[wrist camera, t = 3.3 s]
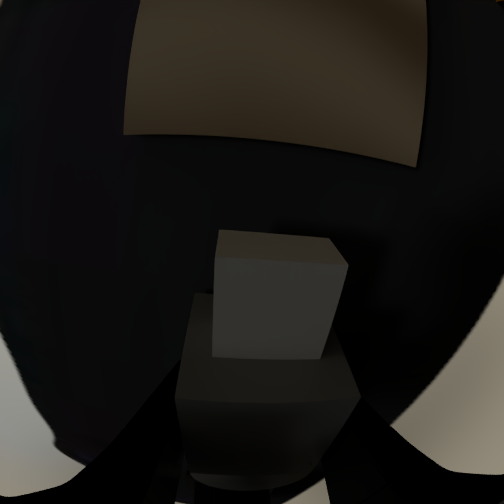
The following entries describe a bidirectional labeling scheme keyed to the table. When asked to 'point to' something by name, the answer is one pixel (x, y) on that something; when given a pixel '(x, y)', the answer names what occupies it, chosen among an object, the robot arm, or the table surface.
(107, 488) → the robot arm
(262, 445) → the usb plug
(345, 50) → the trivet
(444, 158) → the table surface
